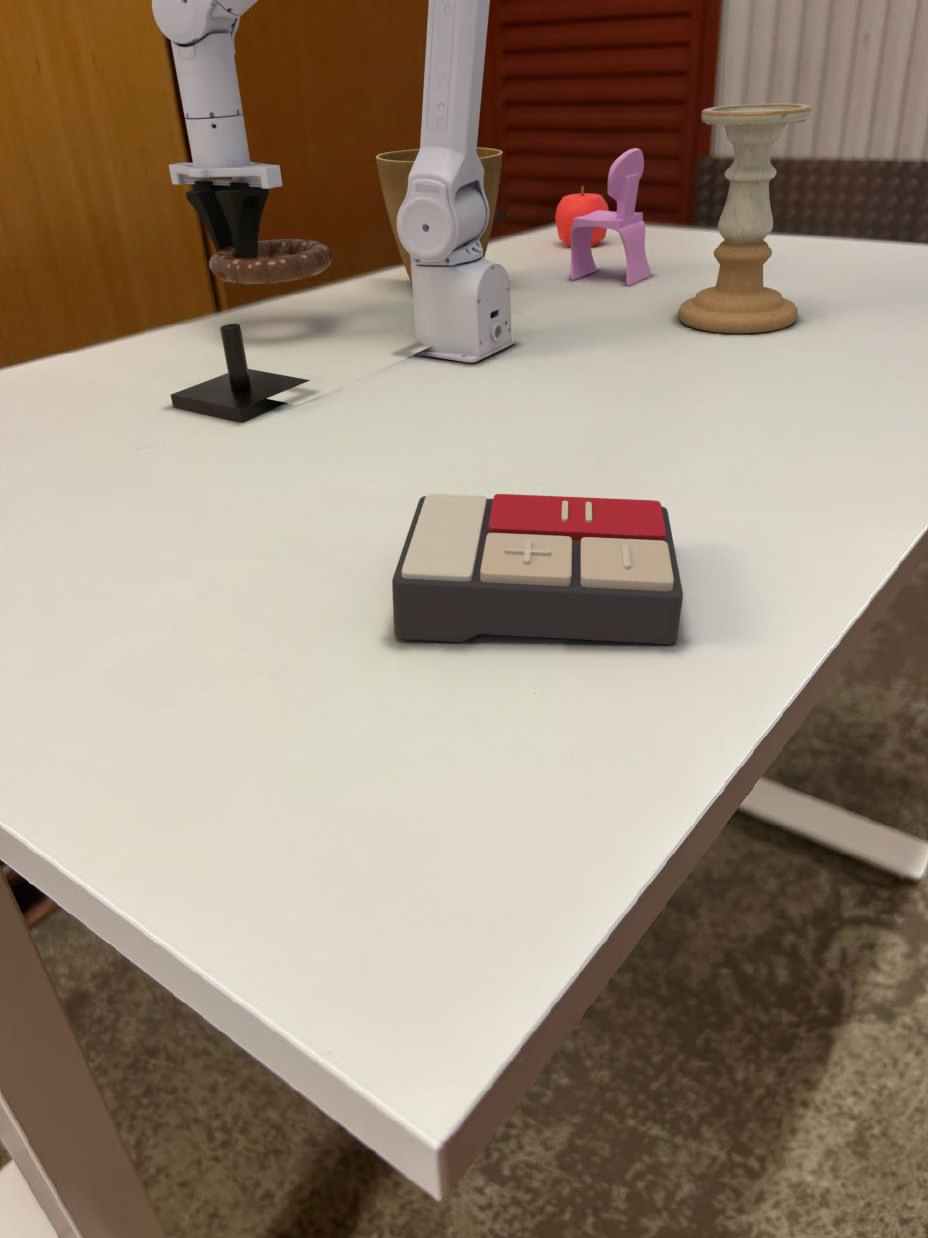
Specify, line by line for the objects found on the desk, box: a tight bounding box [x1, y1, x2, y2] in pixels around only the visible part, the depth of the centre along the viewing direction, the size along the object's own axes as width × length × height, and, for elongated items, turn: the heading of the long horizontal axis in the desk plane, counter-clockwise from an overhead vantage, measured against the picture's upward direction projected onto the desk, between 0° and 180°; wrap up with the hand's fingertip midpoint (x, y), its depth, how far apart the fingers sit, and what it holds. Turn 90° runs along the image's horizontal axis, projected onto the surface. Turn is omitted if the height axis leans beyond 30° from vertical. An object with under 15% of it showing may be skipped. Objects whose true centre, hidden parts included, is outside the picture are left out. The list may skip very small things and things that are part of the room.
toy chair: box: [570, 147, 652, 286], centre depth 119 cm, size 8×9×15 cm
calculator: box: [391, 493, 684, 645], centre depth 54 cm, size 11×4×15 cm
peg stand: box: [170, 323, 311, 423], centre depth 87 cm, size 9×9×7 cm
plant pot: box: [375, 146, 504, 284], centre depth 116 cm, size 15×15×16 cm
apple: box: [554, 185, 610, 248], centre depth 141 cm, size 8×8×8 cm
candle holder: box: [678, 102, 814, 334], centre depth 98 cm, size 12×12×20 cm
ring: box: [208, 238, 333, 285], centre depth 100 cm, size 12×12×2 cm
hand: (238, 258), depth 103 cm, fingers closed on ring, 2 cm apart
